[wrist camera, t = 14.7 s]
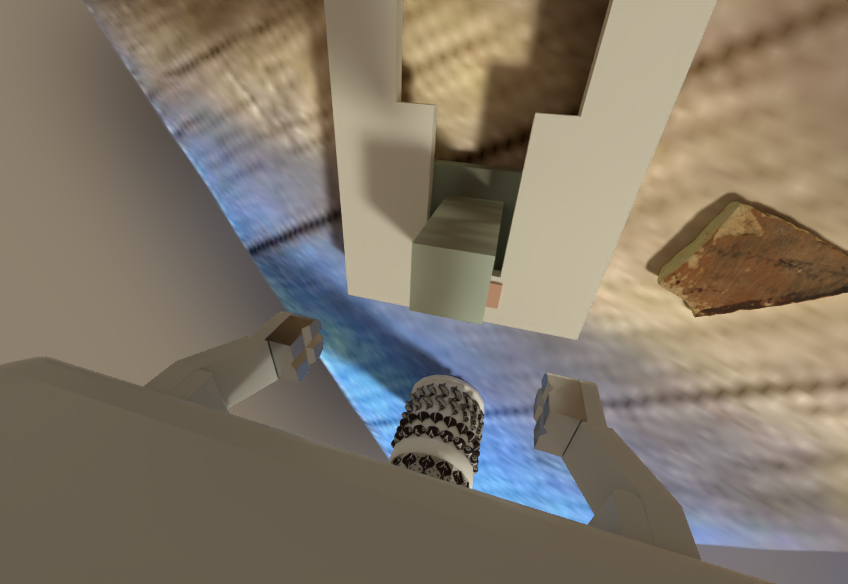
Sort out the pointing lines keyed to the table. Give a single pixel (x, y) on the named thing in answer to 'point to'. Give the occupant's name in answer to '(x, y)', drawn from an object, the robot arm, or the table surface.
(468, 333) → the table surface
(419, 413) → the decorative candle
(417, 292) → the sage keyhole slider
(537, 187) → the keyhole plate
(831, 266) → the shard
